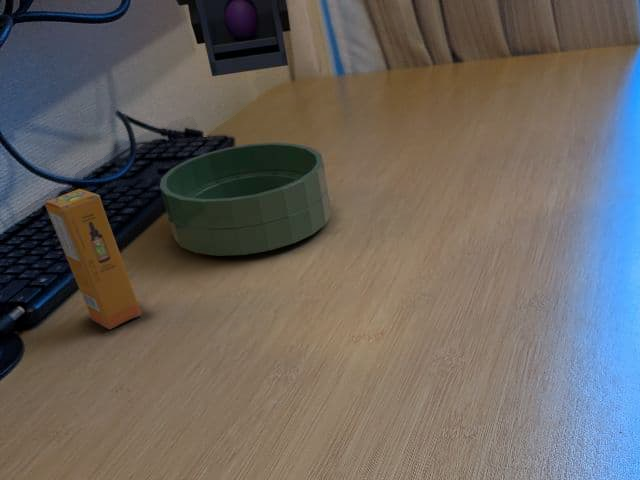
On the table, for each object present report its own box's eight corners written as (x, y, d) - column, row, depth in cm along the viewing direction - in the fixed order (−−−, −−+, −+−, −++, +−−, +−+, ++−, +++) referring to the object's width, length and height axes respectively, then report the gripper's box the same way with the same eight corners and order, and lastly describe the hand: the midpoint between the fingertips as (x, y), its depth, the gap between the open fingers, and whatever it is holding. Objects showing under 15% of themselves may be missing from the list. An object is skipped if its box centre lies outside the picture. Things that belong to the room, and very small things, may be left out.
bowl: (180, 212, 85) (164, 157, 82) (324, 189, 86) (315, 134, 83) (173, 272, 74) (154, 211, 70) (338, 246, 75) (329, 184, 71)
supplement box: (123, 304, 70) (81, 185, 64) (143, 316, 68) (102, 193, 62) (88, 319, 69) (41, 198, 62) (107, 332, 67) (61, 208, 60)
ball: (228, 38, 81) (220, -1, 78) (260, 33, 81) (253, -5, 79) (228, 44, 78) (220, 5, 76) (262, 40, 78) (255, 0, 76)
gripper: (309, -185, 80) (351, 39, 79) (102, -159, 79) (142, 69, 78) (303, -265, 73) (350, -18, 72) (74, -237, 71) (118, 14, 70)
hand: (241, 27), depth 75 cm, fingers closed on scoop, 7 cm apart
